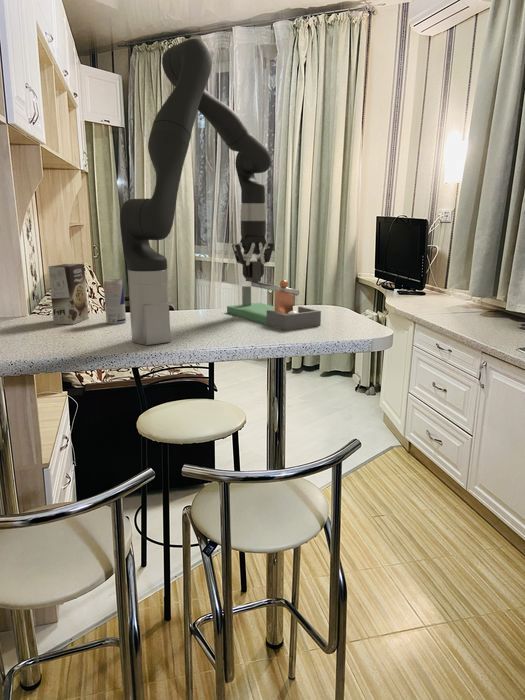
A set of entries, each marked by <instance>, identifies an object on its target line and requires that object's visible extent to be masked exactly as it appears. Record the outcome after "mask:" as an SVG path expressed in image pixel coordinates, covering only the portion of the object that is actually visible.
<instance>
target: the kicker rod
mask: <svg viewBox="0 0 525 700" xmlns="http://www.w3.org/2000/svg"><path fill="white" fill-rule="evenodd" d="M248 266H250V278H245V281H246V282H250V286H251V287H255V288H259V289H264V290H267V291H268V290H269V291H274V307H275V312H279V313H283V314H288V313H289V312H290V311H294V296H299V294H300V290H299V289H296V288H289V282H288V280H285V279H282V280H281V281H280V283H279V285H276V284H270V283H264V282H262V277H261V262H260V261H257V260H250V263H249V265H248Z"/></svg>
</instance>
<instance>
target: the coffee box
mask: <svg viewBox="0 0 525 700" xmlns="http://www.w3.org/2000/svg"><path fill="white" fill-rule="evenodd" d="M48 276H49V287H50V298H51V308H52V309H51V310H52V321H53V324H54V325H56V324H59V325H61V324H62V325H75V323H76V324H78V323H80V321H81V322H83V321H86V320H88V319H89V307H88V306H89V305H88V304H89V303H88V294H87V284H86V283H87V282H86V271H85V263H63V264H57V265H49V266H48Z"/></svg>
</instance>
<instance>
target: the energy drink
mask: <svg viewBox="0 0 525 700" xmlns="http://www.w3.org/2000/svg"><path fill="white" fill-rule="evenodd" d="M123 281H124V280H123V279H119V278H118V279H117V278H116V279H115V278H113V279H111V278H110V279H104V280H103V294H104V295H103V297H104V307H105V309H104V311H105V321H106V323H107V324H108V325H121V324H122V325H123V324H125V323H126V321H127V320H126V319H127V318H126V317H127V315H126V302H125V289H124V288H125V286H124V282H123Z"/></svg>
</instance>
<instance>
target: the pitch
mask: <svg viewBox="0 0 525 700" xmlns="http://www.w3.org/2000/svg"><path fill="white" fill-rule="evenodd" d="M241 289H242V290H241V292H242V293H241V304H235V305H227V306H226V313H228V314H231V315H234V316H238V317H241V318H245V319H246V320H247V319H248V320H251V321H254V322H257V323H259V324H264V325H267V326H269V327H272V328H276V329H280V330H284V331H290V330H299V329H304V328H311V327H317V326H318V327H319V326H321V325H322V324H321V320H322V316H321V315H322V311H321V310H317V309H314V308H310V307H304V306H302V305H301V306H298V307H297V312H298V313H295V314H283V313H279V312H275V305H270V304H265V303H262V302H253V303H252V286H251V285H250V286H249V285H242V287H241Z"/></svg>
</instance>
